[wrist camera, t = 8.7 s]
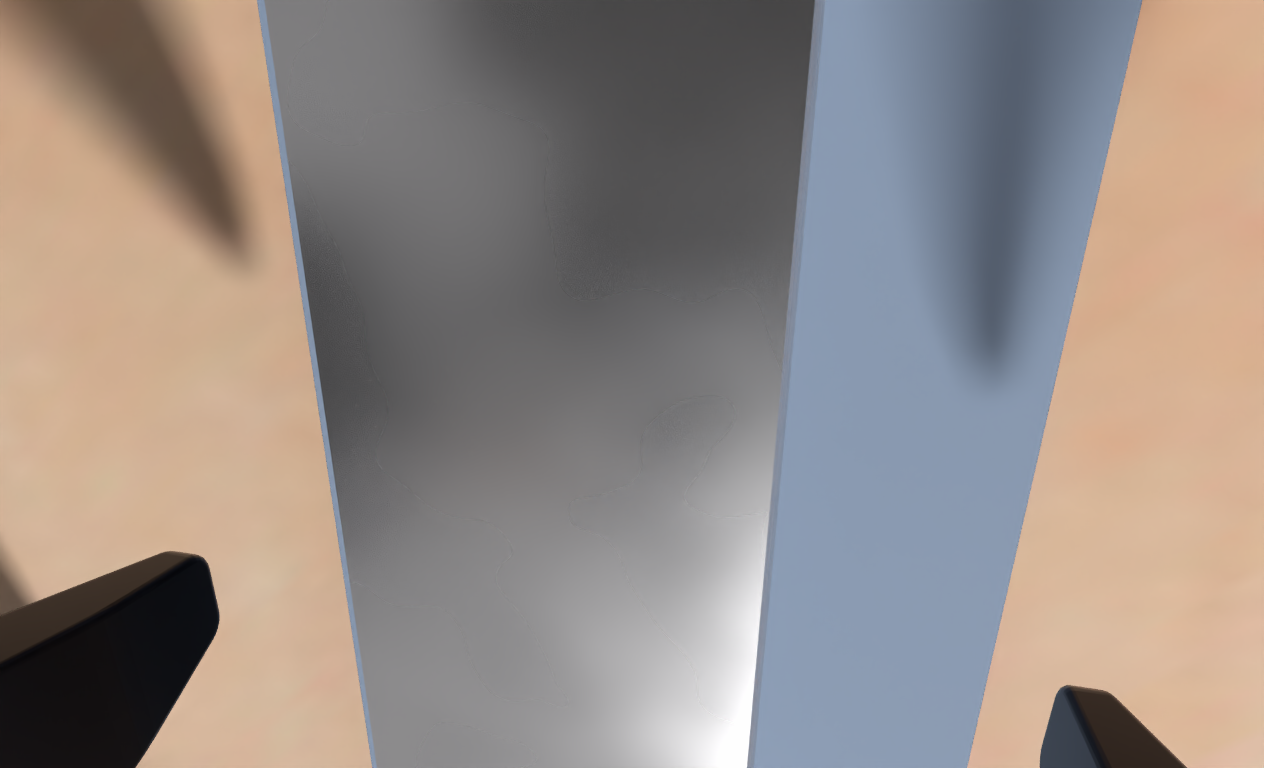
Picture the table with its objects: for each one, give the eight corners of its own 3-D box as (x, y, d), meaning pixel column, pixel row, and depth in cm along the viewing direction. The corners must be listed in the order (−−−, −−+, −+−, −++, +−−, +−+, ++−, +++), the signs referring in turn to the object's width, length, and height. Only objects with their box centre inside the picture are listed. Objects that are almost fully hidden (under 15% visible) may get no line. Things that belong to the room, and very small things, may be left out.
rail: (536, 972, 16) (448, 1256, 12) (459, -498, 8) (132, -901, 4) (730, 1016, 15) (696, 1329, 12) (875, -535, 7) (908, -1048, 4)
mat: (412, 955, 17) (403, 975, 17) (194, -594, 8) (163, -619, 8) (891, 1066, 16) (892, 1091, 15) (1291, -724, 6) (1317, -766, 6)
